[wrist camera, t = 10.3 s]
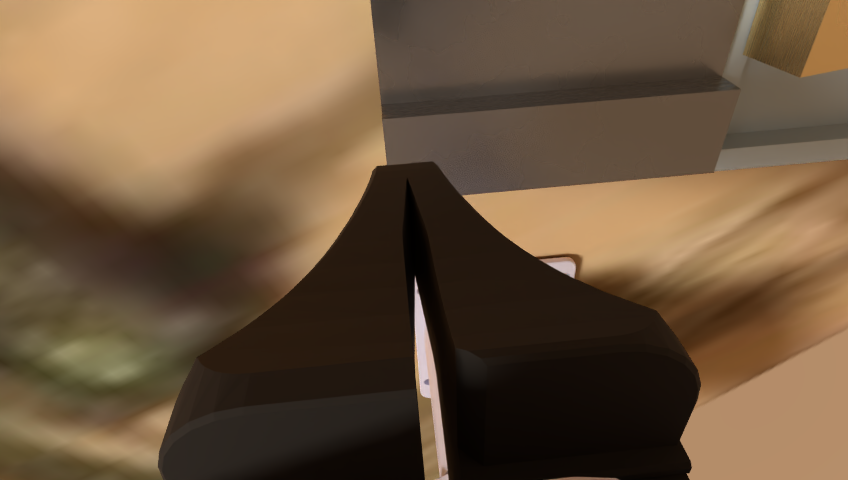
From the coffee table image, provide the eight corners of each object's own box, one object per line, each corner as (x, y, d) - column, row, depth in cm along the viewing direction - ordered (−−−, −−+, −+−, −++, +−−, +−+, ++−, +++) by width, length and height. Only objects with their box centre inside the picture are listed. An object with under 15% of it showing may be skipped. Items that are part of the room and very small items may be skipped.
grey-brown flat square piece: (673, 133, 22) (713, 172, 20) (387, 158, 22) (390, 201, 19) (777, -258, 15) (862, -277, 12) (347, -234, 14) (343, -248, 12)
